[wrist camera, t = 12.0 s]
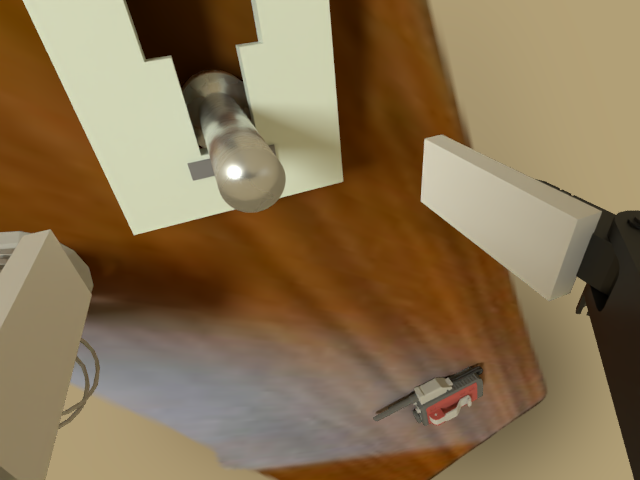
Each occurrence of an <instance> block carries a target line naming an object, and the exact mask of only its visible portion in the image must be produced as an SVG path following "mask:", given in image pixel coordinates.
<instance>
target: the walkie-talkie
mask: <svg viewBox="0 0 640 480" xmlns="http://www.w3.org/2000/svg"><path fill="white" fill-rule="evenodd" d="M482 371H483V369H482V368H481V367H480V366H478V367H475V368H471V367H468V368H466V369H465V370H462V371H460V372H459V373H457V374H454V375H453V376H451V377H449V378H434V379H432V380H430V381H428V382H427V383H425V384H423V385H421V386H417V387H416V388H414V391H415V393H413V394H411V395H410V396H409V397H408V398H406V399H404V400H402V401H400V402H398V403H396V404H394V405H392V406H390V407H389V408H388V410H386V411H384V412H383V413H381V414H379V415H377V416H375V417H373V419H374V420H375V421H379V420H381V419H383V418H385V417H387V416H389V415H390V414H392V413H394V412H396V411H398V410H400V409H402V408H404V407H406V406H408V405H410V404H413V405H415V407H416V408H415V409H416V410H414V411H413V414H414V417H415V419H416V420H417V422H418V423H421V422H422V423H423V425H424V426H427V425H429V424H431V423H432V424H434V425H440V424H442V423H444V422H445V421H446V420H447V421H448V420H450V419H452V418H454V417H456V416H457V415H458V413H459V410H460V408H461V407H463V406H465V405H467V404H468V407H469V406H471V402H472V401H474V400H476V399H478V398H479V397H481V396H483V381H482V379H481V378H480V377H479V376H478V375H480V374H481V373H482Z"/></svg>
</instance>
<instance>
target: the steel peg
mask: <svg viewBox="0 0 640 480" xmlns="http://www.w3.org/2000/svg"><path fill="white" fill-rule="evenodd" d="M182 93H183V96H184V99H185V102H186V106H187V109H188V112H189V116H190V119H191V122H192V126H193V129H194V132H195V135H196V139H197V142H198V145H200V146H202V147H204V148H207V149H208V153H209V157H210V160H211V164H212V167H213V171H214V174H215V178H216V182H217V185H218V189H219V192H220V194H221V196H222V198H223V199H224V201H225V202H226V203H227V204H228V205H229V206H231V207H232V208H234V209H236V210H239V211H242V212H259V211H262V210H265V209H267V208H269V207H270V206H272V205H273V204H274V203H275V202H276V201H277V200H278V199H279V198H280V196H281V195H282V193H283V191H284V188H285V183H286V176H285V171H284V168H283V166H282V164H281V162H280V161H279V160H278V158H277V157H276V156H275V154H274V153H273V152H272V150H271V149H270V147H269V146H268V145H267V143H266V142H265V141H264V139H263V138H262V136H261V135H260V134H259V132H258V131H257V130H256V128H255V127H254V125H253V124H252V121H251V116H250V111H249V106H248V102H247V97H246V92H245V87H244V84H243V83H242V82H241V81H240V80H239V79H238V78H237V77H235V76H234V75H232V74H230V73H228V72H226V71H223V70H218V69H208V70H203V71H200V72H198V73H196V74H194V75H193V76H191V77H190V78H189V79H188V80H187V81H186V82H185V84H184V85H183V87H182Z"/></svg>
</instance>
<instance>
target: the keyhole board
mask: <svg viewBox="0 0 640 480" xmlns="http://www.w3.org/2000/svg"><path fill="white" fill-rule="evenodd" d="M23 2H24V4H25V6H26V8H27V10H28V12H29V15H30V17H31V19H32V21H33V23H34V25H35V27H36V29H37V31H38V34H39V36H40V38H41V40H42V42H43V44H44V46H45V48H46V50H47V53H48V55H49V57H50V59H51V61H52V63H53V65H54V67H55V69H56V72H57V74H58V76H59V78H60V80H61V82H62V84H63V86H64V88H65V91H66V93H67V95H68V97H69V99H70V101H71V103H72V105H73V107H74V110H75V112H76V114H77V116H78V118H79V120H80V122H81V124H82V126H83V129H84V131H85V133H86V135H87V137H88V139H89V141H90V143H91V145H92V148H93V150H94V152H95V154H96V156H97V158H98V160H99V162H100V164H101V167H102V169H103V171H104V173H105V175H106V177H107V179H108V181H109V183H110V186H111V188H112V190H113V192H114V194H115V196H116V198H117V200H118V202H119V205H120V207H121V209H122V211H123V213H124V215H125V217H126V219H127V221H128V224H129V226H130V228H131V230H132V232H133V234H134V235H136V234H140V233H144V232H148V231H152V230H156V229H160V228H164V227H168V226H172V225H176V224H179V223H183V222H187V221H191V220H195V219H199V218H203V217H207V216H211V215H215V214H219V213H222V212H226V211H230V210H234V208H232V207H231V206H229V205H228V204H227V203H226V202H225V201H224V199H223V198H222V196H221V194H220V192H219V189H218V185H217V182H216V178H215V174H214V171H213V167H212V164H211V160H210V157H209V153H208V149H207V148H202V149H199V145H198V142H197V139H196V135H195V132H194V129H193V126H192V122H191V119H190V116H189V112H188V109H187V106H186V102H185V99H184V96H183V93H182V89H181V86H180V83H179V79H178V76H177V73H176V70H175V66H174V63H173V60H172V56H171V55H170V56H163V57H157V58H151V59H145V56H144V53H143V50H142V47H141V44H140V41H139V38H138V35H137V32H136V29H135V26H134V23H133V20H132V17H131V15H130V12H129V9H128V6H127V3H126V0H23ZM251 2H252V8H253V14H254V19H255V25H256V30H257V36H258V42H252V43H246V44H240V45H236V50H237V54H238V59H239V64H240V69H241V73H242V78H243V83H244V87H245V92H246V97H247V102H248V106H249V111H250V116H251V121H252V124H253V125H254V127H255V128H256V130H257V131H258V132H259V134H260V135H261V136H262V138H263V139H264V141H265V142H266V143H267V145H268V146H269V147H270V149H271V150H272V152H273V153H274V154H275V156H276V157H277V158H278V160H279V161H280V162H281V164H282V166H283V168H284V171H285V176H286V183H285V188H284V191H283V193H282V195H281V196H280V198H281V197H285V196H289V195H293V194H297V193H301V192H305V191H309V190H313V189H316V188H320V187H324V186H328V185H332V184H336V183H340V182H343V172H342V159H341V146H340V134H339V121H338V108H337V95H336V83H335V70H334V57H333V44H332V32H331V19H330V6H329V0H251Z"/></svg>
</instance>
